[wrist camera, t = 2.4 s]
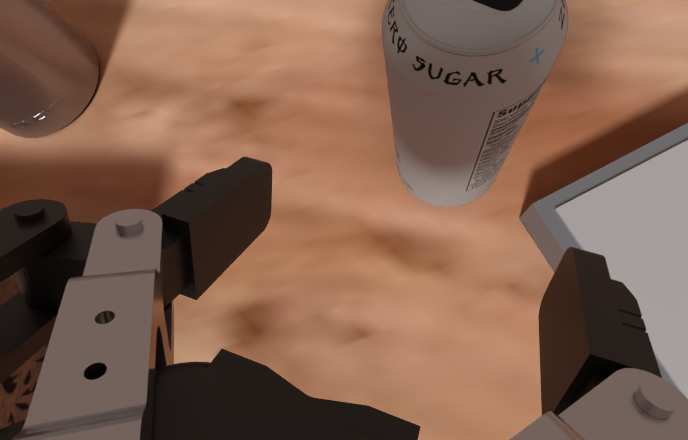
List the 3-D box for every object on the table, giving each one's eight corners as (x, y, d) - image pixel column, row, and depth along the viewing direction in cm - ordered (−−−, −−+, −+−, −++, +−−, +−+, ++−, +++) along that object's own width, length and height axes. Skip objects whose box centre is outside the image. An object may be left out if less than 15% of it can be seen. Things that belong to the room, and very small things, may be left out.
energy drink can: (427, 106, 28) (437, -122, 14) (514, 146, 27) (624, -66, 13) (380, 183, 28) (341, 24, 13) (466, 229, 26) (527, 104, 12)
